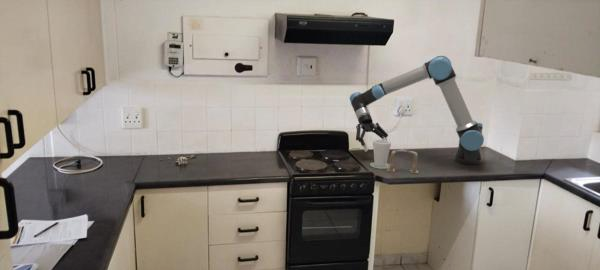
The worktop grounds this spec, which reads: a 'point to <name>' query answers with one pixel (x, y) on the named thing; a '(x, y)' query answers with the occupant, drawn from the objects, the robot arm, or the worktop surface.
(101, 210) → the worktop surface
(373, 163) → the coaster
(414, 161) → the pull handle
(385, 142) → the foam cup
